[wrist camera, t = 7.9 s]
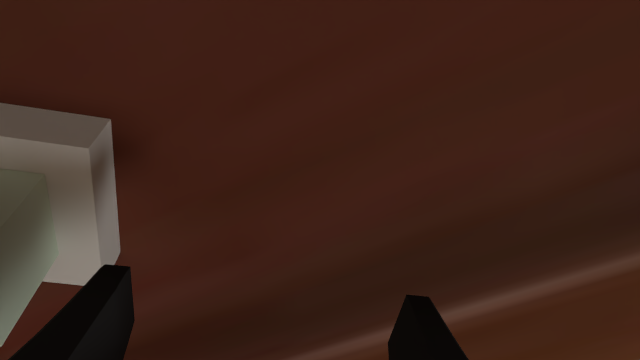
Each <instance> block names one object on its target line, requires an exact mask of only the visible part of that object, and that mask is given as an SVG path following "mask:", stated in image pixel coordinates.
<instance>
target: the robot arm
mask: <svg viewBox="0 0 640 360" xmlns="http://www.w3.org/2000/svg"><path fill="white" fill-rule="evenodd" d="M133 324H134V308H133V296H132V284H131V272H130V267H128V266H118V265H108V264H105V265H103V266H102V267H101V268H100V269H99V270H98V271H97V272H96V273H95V274H94V275H93V276H92V278H91V279H90V280H89V281H88V282H87V283H86V284H85V285H84V286H83V287H82V288H81V290H80V291H79V292H78V293H77V294H76V295H75V296H74V297H73V298H72V299H71V300H70V301H69V302H68V303H67V304H66V305H65V306H64V307H63V308H62V309H61V310H60V311H59V312H58V313H57V314H56V315H55V316H54V317H53V318H52V319H51V320H50V321H49V322H48V323H47V324H46V325H45V326H44V327H43V328H42V329H41V330H40V331H39V332H38V333H37V334H36V335H35V336H34V337H33V338H32V339H30V340H29V341H28V342H27V343H26V344H25V345H24V346H23V347H22V348H20V349H19V350H18V351H17V352H16V353H15V354H14V355H13V356H12V357H11V358H9V359H8V360H123V358H124V354H125V351H126V348H127V344H128V341H129V338H130V334H131V331H132V327H133ZM388 351H389V360H469V359H468V358H467V357H466V355H465V354H464V352H463V351H462V349H461V347H460V346H459V344H458V343H457V341H456V340H455V338H454V337H453V335H452V333H451V332H450V330H449V329H448V327H447V325H446V324H445V322H444V321H443V319H442V317H441V316H440V314H439V312H438V311H437V309H436V308H435V306H434V304H433V303H432V301H431V300H430V298H429V297H424V296H415V295H406V298H405V300H404V303H403V305H402V308H401V310H400V313H399V316H398V318H397V321H396V323H395V326H394V329H393V331H392V334H391V336H390V339H389V342H388Z"/></svg>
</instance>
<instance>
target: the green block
mask: <svg viewBox="0 0 640 360" xmlns="http://www.w3.org/2000/svg"><path fill="white" fill-rule="evenodd" d="M58 255H59V251H58V246H57V240H56V234H55V229H54V223H53V218H52V212H51V207H50V201H49V196H48V190H47V184H46V179H45V174H39V173H31V172H23V171H16V170H8V169H0V347H1V346H2V345H3V343H4V342H5V340H6V338H7V337H8V335H9V334H10V332H11V330H12V329H13V327H14V326H15V324H16V322H17V321H18V319H19V318H20V316H21V314H22V313H23V311H24V309H25V308H26V306H27V305H28V303H29V301H30V300H31V298H32V297H33V295H34V293H35V292H36V290H37V289H38V287H39V285H40V284H41V282H42V281H43V279H44V277H45V276H46V274H47V273H48V271H49V269H50V268H51V266H52V265H53V263H54V261H55V260H56V258H57V257H58Z"/></svg>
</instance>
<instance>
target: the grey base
mask: <svg viewBox="0 0 640 360" xmlns="http://www.w3.org/2000/svg"><path fill="white" fill-rule="evenodd" d="M0 169H8V170H16V171H23V172H31V173H39V174H45V179H46V184H47V190H48V196H49V201H50V207H51V212H52V218H53V223H54V229H55V234H56V240H57V246H58V251H59V255H58V257H57V258H56V260H55V261H54V263H53V265H52V266H51V268H50V269H49V271H48V273H47V274H46V276H45V277H44V279H43V281H45V282H55V283H64V284H73V285H83V286H84V285H85V284H86V283H87V282H88V281H89V280H90V279H91V278H92V276H93V275H94V274H95V273H96V272H97V271H98V270H99V269H100V268H101V267H102V266H103V265H105V264H108V265H114V264H115V262H116V260H117V258H118V256H119V254H120V241H119V227H118V213H117V199H116V185H115V171H114V158H113V144H112V130H111V119H106V118H100V117H93V116H86V115H79V114H72V113H66V112H59V111H52V110H45V109H38V108H32V107H25V106H18V105H11V104H4V103H0Z"/></svg>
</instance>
